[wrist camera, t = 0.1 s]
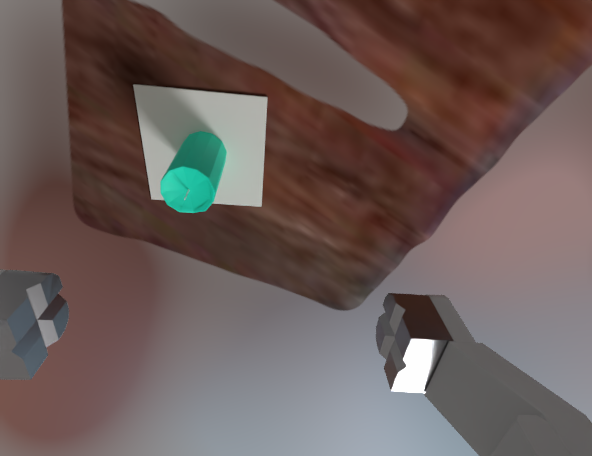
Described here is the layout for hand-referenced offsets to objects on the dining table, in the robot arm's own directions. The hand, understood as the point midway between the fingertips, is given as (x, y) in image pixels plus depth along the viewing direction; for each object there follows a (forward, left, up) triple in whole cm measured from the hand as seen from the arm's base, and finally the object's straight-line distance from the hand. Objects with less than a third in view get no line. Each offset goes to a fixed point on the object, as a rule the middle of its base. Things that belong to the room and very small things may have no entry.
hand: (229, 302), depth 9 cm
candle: (+14, -8, -39) cm, 42 cm away
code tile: (+14, -8, -39) cm, 42 cm away
